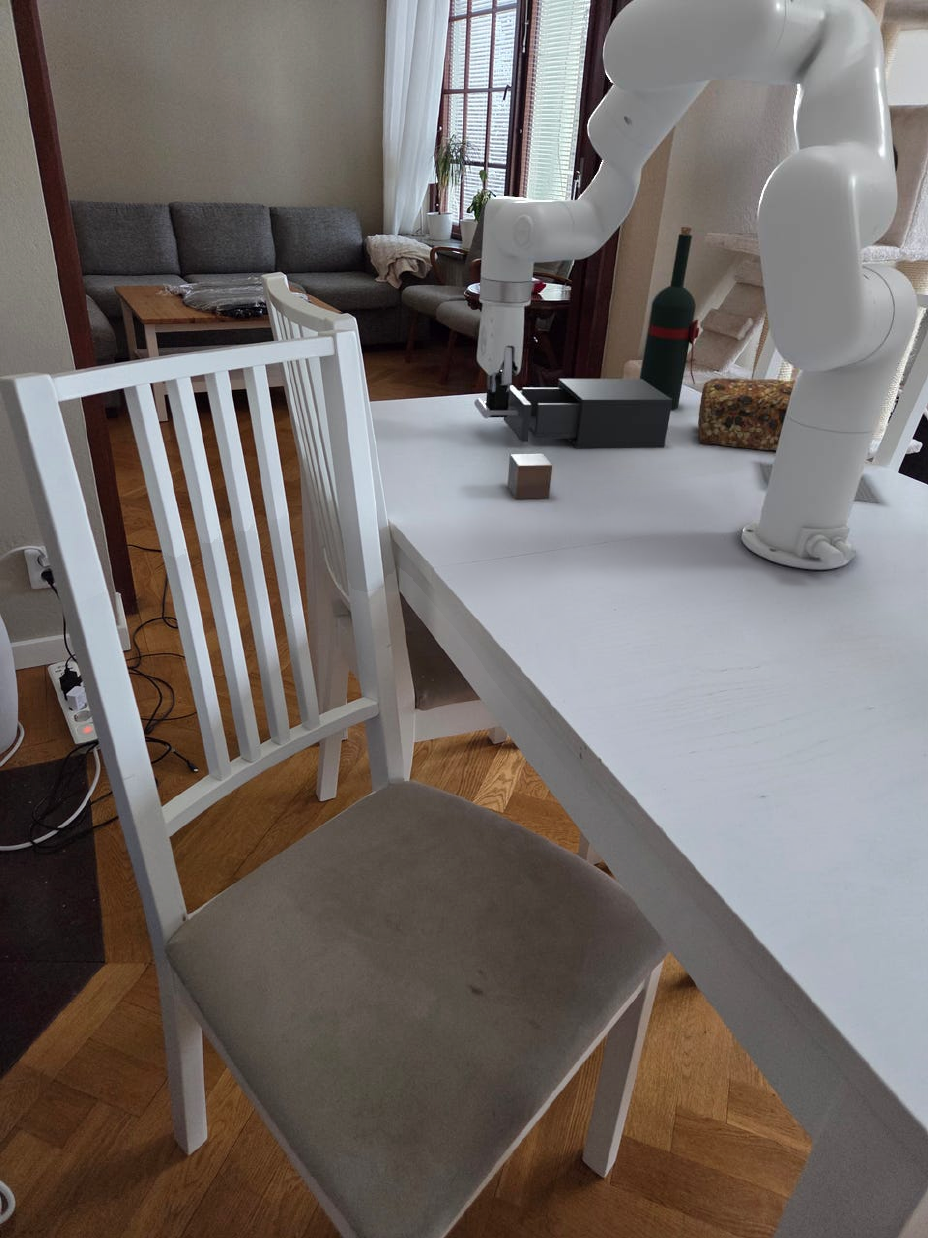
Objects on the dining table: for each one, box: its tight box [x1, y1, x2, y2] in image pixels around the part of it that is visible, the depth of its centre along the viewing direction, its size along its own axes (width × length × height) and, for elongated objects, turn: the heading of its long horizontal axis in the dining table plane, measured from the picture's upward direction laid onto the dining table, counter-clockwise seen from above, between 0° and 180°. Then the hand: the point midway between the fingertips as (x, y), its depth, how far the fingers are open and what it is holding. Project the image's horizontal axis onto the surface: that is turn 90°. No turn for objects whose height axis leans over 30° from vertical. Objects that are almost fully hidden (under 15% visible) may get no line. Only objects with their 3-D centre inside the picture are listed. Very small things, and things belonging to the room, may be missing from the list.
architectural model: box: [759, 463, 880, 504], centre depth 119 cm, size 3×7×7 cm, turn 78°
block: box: [507, 453, 553, 500], centre depth 110 cm, size 5×5×5 cm
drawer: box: [473, 384, 581, 443], centre depth 131 cm, size 19×11×6 cm, turn 101°
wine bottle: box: [638, 225, 700, 411], centre depth 145 cm, size 8×10×30 cm
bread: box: [697, 377, 796, 451], centre depth 134 cm, size 19×11×10 cm, turn 77°
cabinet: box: [557, 378, 672, 449], centre depth 133 cm, size 15×13×8 cm
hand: (496, 415), depth 130 cm, fingers closed
